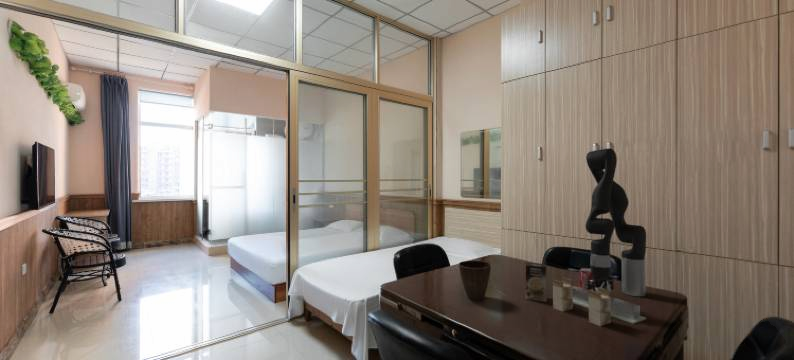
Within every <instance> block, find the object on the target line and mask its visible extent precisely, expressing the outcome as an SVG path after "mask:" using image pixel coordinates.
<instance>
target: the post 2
mask: <svg viewBox="0 0 794 360" xmlns="http://www.w3.org/2000/svg"><path fill="white" fill-rule="evenodd" d="M610 297H611V292H610V290H606V289H603V288H598V292H595V291H592V290H588V299H589V308H588V323H591V324H594V325H596V326H598V327H601V326H606V325H607V324H611V323H612V322H611V321H612V316H611V301H610Z"/></svg>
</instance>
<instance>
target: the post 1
mask: <svg viewBox="0 0 794 360" xmlns="http://www.w3.org/2000/svg"><path fill="white" fill-rule="evenodd" d="M572 286H573V279H571V278H566V277H561V281H560V280H557V279H554V278H553V279H552V308H553V309H554V310H557V311H560V312H563V313H564V312H566V311H570V310H572V309H574V303H573V291H572Z"/></svg>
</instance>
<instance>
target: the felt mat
mask: <svg viewBox="0 0 794 360" xmlns="http://www.w3.org/2000/svg"><path fill="white" fill-rule="evenodd" d="M574 304H575V305H577V306H581V307H584V308H586V309H589V305H588V304H585V303H582V302H579V301H576V300H573V305H574ZM612 317H613V318H615V319H618V320H621V321H624V322H626V323H629V324H636V323H639V322H642V321H645V320H647V317H646V316H642V315H640V318H638V319H635V320H633V319H630V318H627V317H624V316H621V315H618V314H615V313H612V312H611V318H612Z"/></svg>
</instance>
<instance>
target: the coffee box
mask: <svg viewBox="0 0 794 360" xmlns="http://www.w3.org/2000/svg"><path fill="white" fill-rule="evenodd" d="M547 285H548V284H547V263H536V262H525V300H530V301H536V302H537V301H538V302H542V303H543V302H544V303H546V302H547V298H548V297H547V296H548V293H547Z"/></svg>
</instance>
